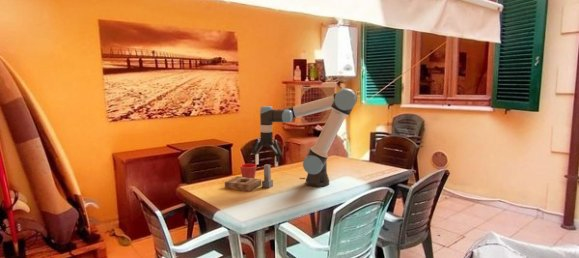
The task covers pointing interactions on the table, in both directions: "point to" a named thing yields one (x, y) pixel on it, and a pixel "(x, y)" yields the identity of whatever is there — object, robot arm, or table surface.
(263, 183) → the grey stepped bar
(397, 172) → the table surface
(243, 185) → the well block
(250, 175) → the flower pot
